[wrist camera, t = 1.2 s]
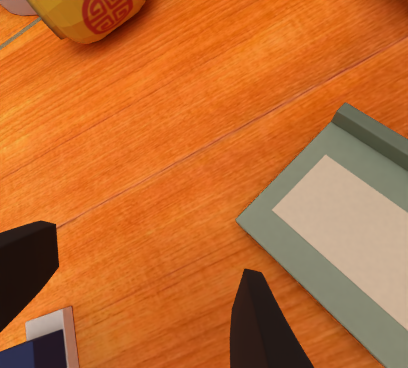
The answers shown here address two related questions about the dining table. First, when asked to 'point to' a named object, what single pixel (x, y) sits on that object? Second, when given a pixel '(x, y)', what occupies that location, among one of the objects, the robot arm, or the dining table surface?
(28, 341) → the navy blue rectangular block
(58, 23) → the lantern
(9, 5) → the alarm clock
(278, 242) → the green platform tray
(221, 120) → the dining table surface
